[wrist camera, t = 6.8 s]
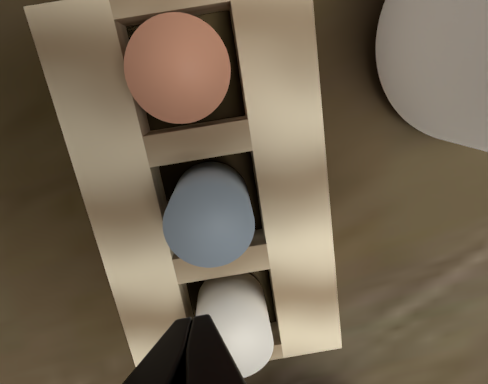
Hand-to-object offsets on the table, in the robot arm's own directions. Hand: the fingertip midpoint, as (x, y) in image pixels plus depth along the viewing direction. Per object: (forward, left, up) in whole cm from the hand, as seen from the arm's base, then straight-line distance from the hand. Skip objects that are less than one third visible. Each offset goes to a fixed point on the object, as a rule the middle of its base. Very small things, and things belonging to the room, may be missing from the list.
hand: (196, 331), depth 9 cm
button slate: (0, 0, -11) cm, 11 cm away
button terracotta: (+6, 0, -11) cm, 13 cm away
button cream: (-7, 0, -11) cm, 13 cm away
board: (0, 0, -11) cm, 11 cm away
